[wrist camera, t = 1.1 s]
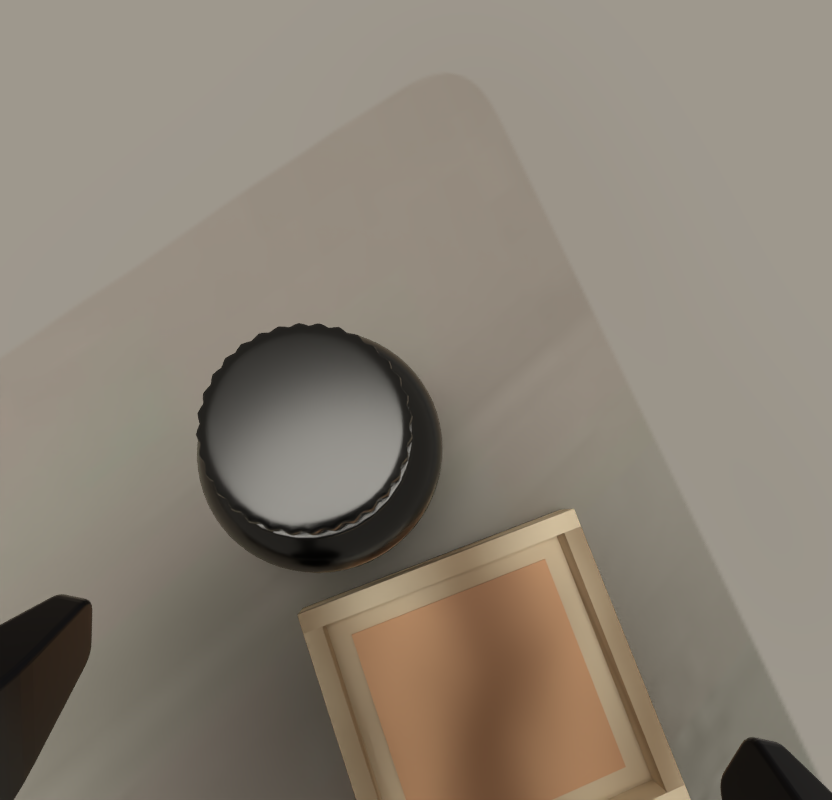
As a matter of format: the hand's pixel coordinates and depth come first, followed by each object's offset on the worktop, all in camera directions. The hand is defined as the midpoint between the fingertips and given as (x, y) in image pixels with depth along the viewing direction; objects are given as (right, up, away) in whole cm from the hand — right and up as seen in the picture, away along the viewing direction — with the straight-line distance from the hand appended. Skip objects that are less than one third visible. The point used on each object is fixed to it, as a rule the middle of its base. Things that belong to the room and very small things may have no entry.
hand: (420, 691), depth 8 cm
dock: (+3, -7, +16) cm, 18 cm away
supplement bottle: (-3, +1, +17) cm, 17 cm away
